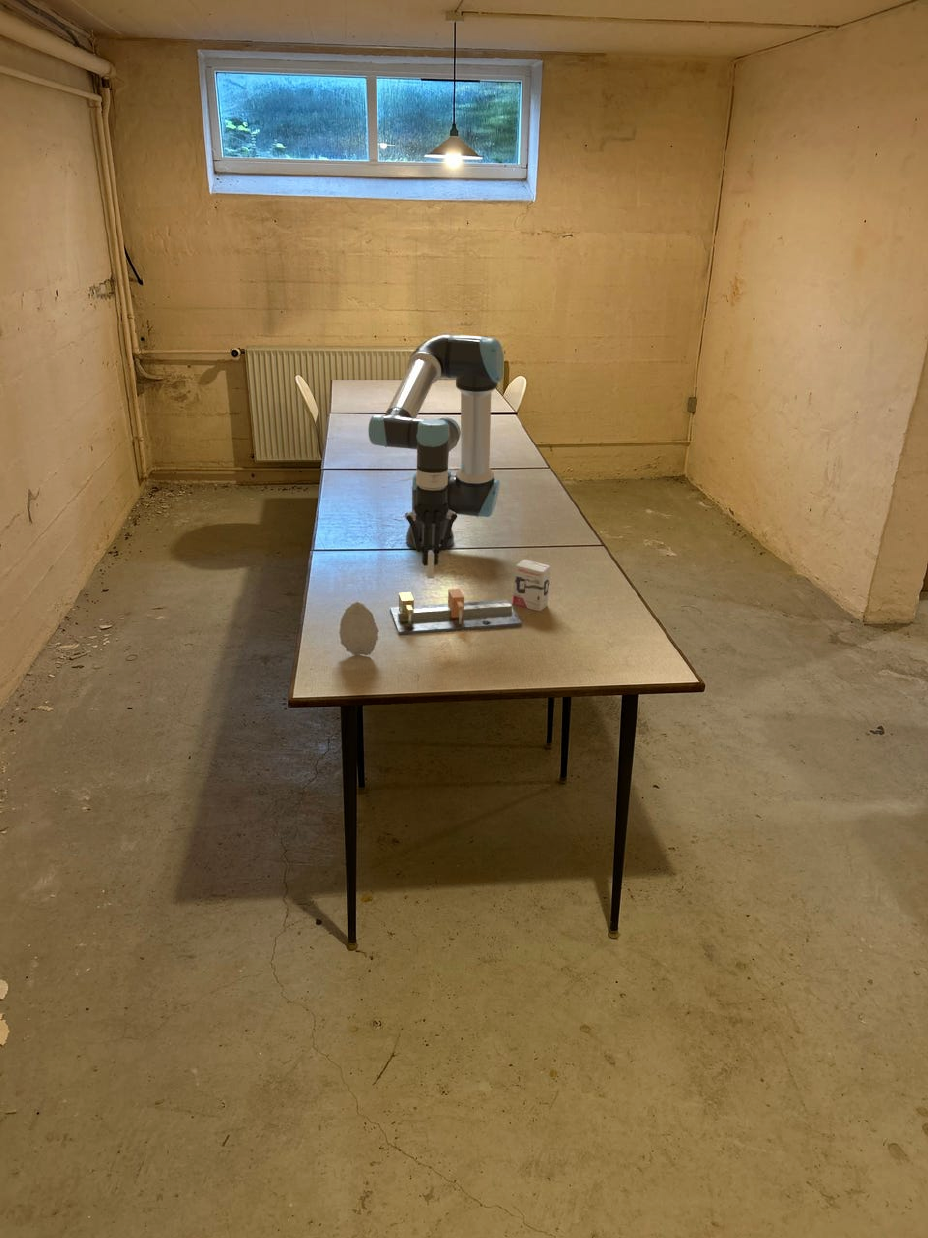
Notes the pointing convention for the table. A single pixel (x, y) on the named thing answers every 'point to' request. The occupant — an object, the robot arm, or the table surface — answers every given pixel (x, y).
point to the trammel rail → (444, 610)
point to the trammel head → (456, 603)
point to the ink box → (531, 585)
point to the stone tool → (358, 630)
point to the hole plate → (456, 621)
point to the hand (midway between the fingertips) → (429, 576)
